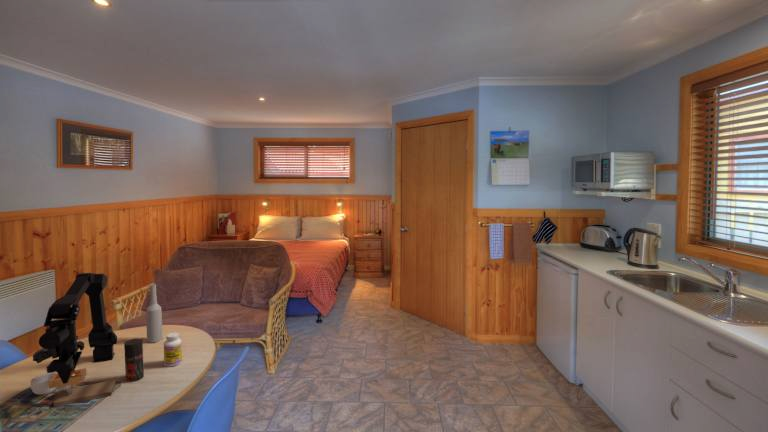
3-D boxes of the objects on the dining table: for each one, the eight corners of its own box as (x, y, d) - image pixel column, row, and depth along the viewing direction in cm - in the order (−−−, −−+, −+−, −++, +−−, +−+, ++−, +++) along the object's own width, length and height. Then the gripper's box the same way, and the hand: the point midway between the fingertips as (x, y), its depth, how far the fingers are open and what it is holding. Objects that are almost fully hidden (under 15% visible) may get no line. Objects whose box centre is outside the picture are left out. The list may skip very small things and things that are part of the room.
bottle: (150, 344, 175) (148, 287, 172) (144, 340, 178) (142, 285, 176) (165, 339, 180) (163, 284, 178) (158, 336, 184) (156, 282, 181)
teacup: (37, 399, 130) (36, 385, 129) (26, 394, 133) (25, 379, 132) (71, 385, 139) (70, 372, 138) (60, 380, 142) (59, 367, 141)
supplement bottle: (163, 368, 153) (162, 338, 152) (165, 361, 159) (164, 332, 158) (181, 365, 155) (180, 336, 154) (182, 358, 161) (182, 330, 160)
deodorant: (147, 375, 147) (146, 339, 145) (132, 383, 141) (131, 346, 140) (136, 373, 149) (135, 337, 147) (122, 380, 143) (120, 343, 142)
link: (86, 374, 135) (86, 368, 135) (82, 382, 130) (81, 375, 130) (54, 380, 131) (54, 373, 131) (48, 388, 126) (48, 381, 125)
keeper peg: (73, 392, 132) (72, 377, 131) (71, 394, 130) (70, 380, 130) (66, 393, 131) (65, 378, 131) (64, 396, 129) (63, 381, 129)
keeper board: (115, 383, 141) (115, 379, 141) (111, 395, 133) (111, 391, 133) (62, 393, 133) (61, 389, 133) (53, 407, 125) (53, 403, 125)
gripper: (45, 331, 133) (47, 371, 135) (24, 352, 117) (27, 398, 118) (83, 326, 138) (85, 365, 140) (69, 345, 122) (71, 390, 123)
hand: (68, 378), depth 130 cm, fingers closed on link, 6 cm apart
